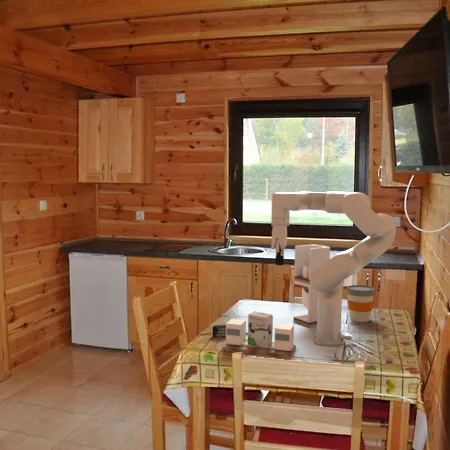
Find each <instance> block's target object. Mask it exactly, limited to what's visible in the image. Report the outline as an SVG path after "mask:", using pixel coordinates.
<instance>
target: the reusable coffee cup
mask: <svg viewBox="0 0 450 450" xmlns="http://www.w3.org/2000/svg"><path fill="white" fill-rule="evenodd" d="M346 294H347V308H348V312H349V320H350V321H353V322H358V323H366V322H369V321H370V320H371V319H370V318H371V313H372V311H373V308H374V302H375V301H374V297H375V296H376V295H375V294H376V293H375V288H374V287H373V286H370V285H365V284H364V285H363V284H353V285H348V286H347V289H346Z"/></svg>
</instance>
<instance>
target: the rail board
mask: <svg viewBox="0 0 450 450" xmlns="http://www.w3.org/2000/svg"><path fill="white" fill-rule="evenodd" d="M296 349H297V344H294V345H293V347H292V349H291V350H290V351H286V350H277V349H274V342H273V341H272V345H270V346H269V347H267V348H265V347H260V346H256V345H252V344H248V338H247V339H246V340H245V341H244V342H243V344H242V345H233V344H226V343H225V344H224V345H223V346H222V351H223V350H228V351H235V352H234V353H236V352H243V353H242V354H245V355H253V356H254V355H256V356H264V357H271V358H272V357H273V358H279V359H280V358H281V359H287V360H288V359H291V358H292V356H293V354H294V352H295V351H296ZM228 351H227V352H228Z"/></svg>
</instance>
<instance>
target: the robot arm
mask: <svg viewBox="0 0 450 450" xmlns="http://www.w3.org/2000/svg"><path fill="white" fill-rule="evenodd" d="M306 210H307V211H308V210H309V211H322V212H323V211H324V212H325V213H328V214H337V215H338V214H340V215H341V214H342V215H343V214H344V215H345V216H346V217H347V218H348V219H349V221H351V222H352V223H353V225H355V227H357V228H358V229H359V231H361V232H362V233H363V234H364V235H365V236H367V237H366V238H364V239H362V240H361V241H359V242H358V243H357V244H356V245H354V246H353V247H351V248H349V249H347V250H344V251H341V252H338V253H336V254H335V255H333V256H330V259H329V260H327V261H326V262H324V263H323V264H322V265H320V266H319V267H317V268H316V269H315V270H313V272H312V273H311V275H310V284H311V286H312V287H313V288H314V289H315V290H317V291H319V292H318V309H317V326H316V334H315V335H314V336H312V341H313V342H314V343H315V344H317V345H321V346H326V347H336V346H342V345H343V344H345V340H348V341H352V340H353V335H352V334H350V333H344V332H343V329H342V309H343V308H342V307H343V306H342V305H343V290H344V285H345V280H346V279H348V278H349V277H351V276H353V275H355V274H357V273H358V272H360V271H361V270H362V269H363V268H365V267H366V266H367V265H369V264H370V263H372V262H373V261H374V260H376V259H377V258H379V257H380V256H381V255H383V254H384V253H385V252H387V250H388V249H389V248H390V247H391V246H392V244H393V242H394V241H395V237H396V233H397V228H396V227H397V226H396V223H395V221H394V220H395V219H394V218H393V217H392V216H391V215H389V214H386V213H381V212H380V213H376V212H375V211H374V210H373V209H372V208H371V200H370V197H369V195H367V194H366V193H363V192H360V191H359V192H358V191H356V192H355V191H325V192H321V191H320V192H319V191H316V192H315V191H313V192H312V191H298V192H295V191H294V192H286V191H285V192H284V191H280V192H279V191H277V192H272V194H271V226H272V230H271V245H270V246H271V249H272V250H273V249H275V265H276V266H284V264H285V263H284V262H285V261H284V260H285V255H284V254H285V248H286V247H287V244H288V227H289V226H290V211H293V212H296V211H297V212H298V211H306Z"/></svg>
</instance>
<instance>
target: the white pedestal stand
mask: <svg viewBox="0 0 450 450" xmlns="http://www.w3.org/2000/svg"><path fill="white" fill-rule="evenodd" d="M330 258H331V247H330V246H326V245H320V244H302V245H301V244H300V245H295V246H294V272H293V273H294V275H293V276H294V277H293V278H294V280H293V281H294V282H293V283H294V284H296V285H299V286H302V287H301V288H302V290H301V304H302V305H303V306H304V308H306V309H307V314H304V315H303V314H302V315H297V316H293V319H292V320H293V322H294V323H297V324H300V325H302V326H305V327H307V328H311V327H317V309H318V292H319V291H317V290H315V289H314V288H313V287H312V286H311V284H310V275H311V273H312V272H313V270H315V269H316V268H317V267H319V266H320V265H322V264H323V263H324V262H326V261H327V260H329V259H330Z"/></svg>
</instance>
